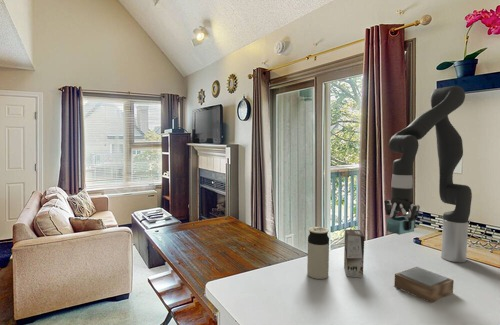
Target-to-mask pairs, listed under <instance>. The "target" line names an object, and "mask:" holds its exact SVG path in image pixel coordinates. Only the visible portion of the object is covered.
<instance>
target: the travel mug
mask: <svg viewBox="0 0 500 325" xmlns="http://www.w3.org/2000/svg"><path fill="white" fill-rule="evenodd" d="M308 231H309V234H308V236H307V263H306V264H307V270H306V271H307V272H306V273H307V275H308V276H309V277H310V278H312V279H317V280H323V279H327V278H328V277H329V272H330V271H329V269H330V267H329V264H330V263H329V262H330V237H329V236H328V232H329V228H326V227H322V226H311V227H308Z"/></svg>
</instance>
